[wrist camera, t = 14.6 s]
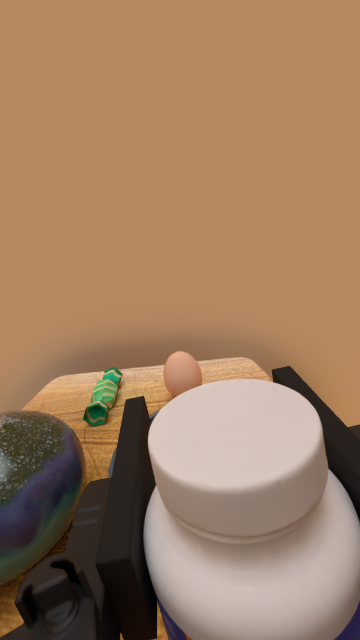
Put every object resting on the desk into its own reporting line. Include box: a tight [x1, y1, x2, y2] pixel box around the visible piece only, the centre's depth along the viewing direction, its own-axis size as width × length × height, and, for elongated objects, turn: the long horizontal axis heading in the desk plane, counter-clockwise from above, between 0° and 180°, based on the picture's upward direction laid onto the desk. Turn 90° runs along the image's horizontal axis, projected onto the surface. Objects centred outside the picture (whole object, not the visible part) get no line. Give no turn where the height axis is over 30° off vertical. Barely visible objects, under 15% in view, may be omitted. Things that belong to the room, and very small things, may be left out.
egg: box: [164, 351, 202, 397], centre depth 47 cm, size 6×6×8 cm
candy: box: [83, 368, 122, 427], centre depth 51 cm, size 12×3×4 cm
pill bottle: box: [143, 379, 360, 640], centre depth 9 cm, size 5×5×10 cm
